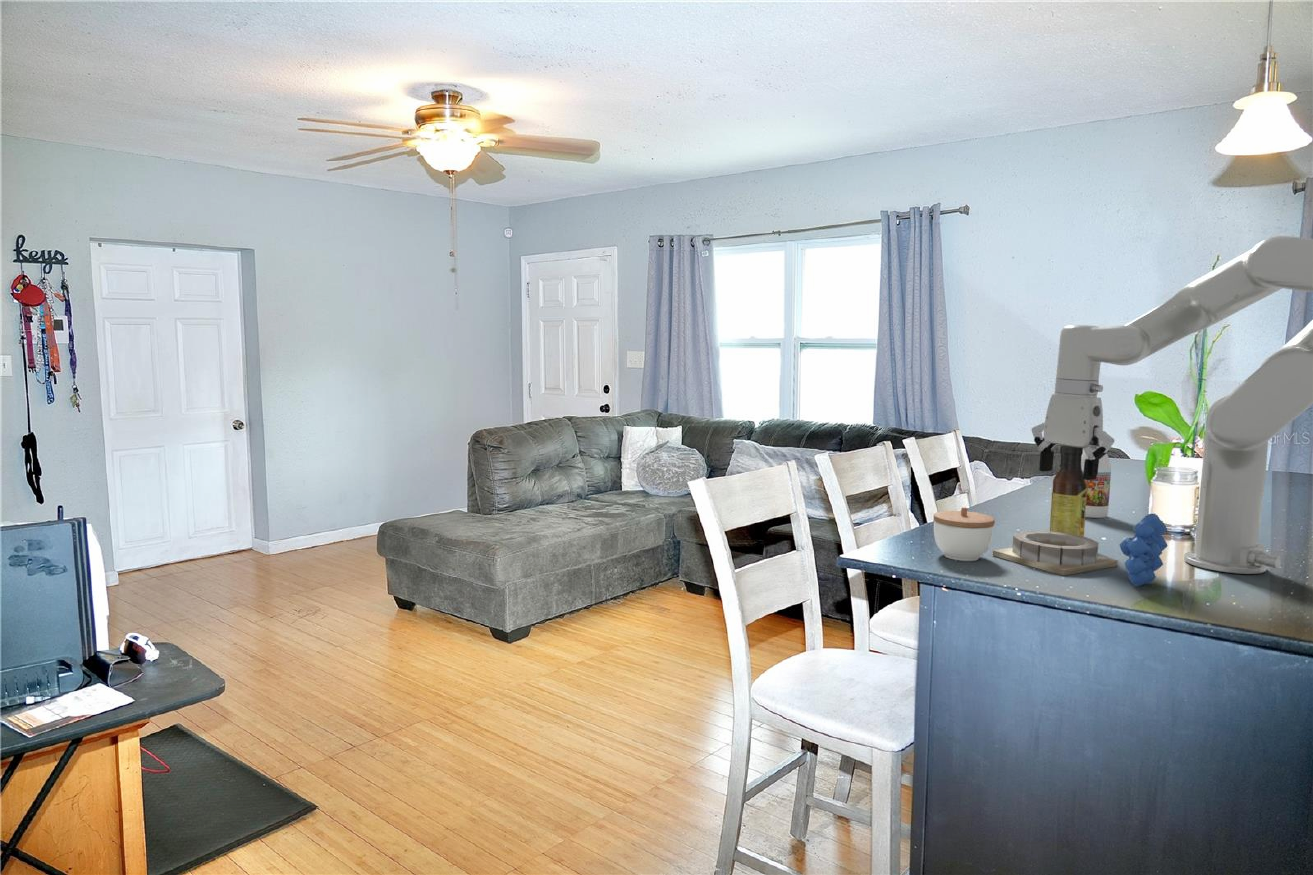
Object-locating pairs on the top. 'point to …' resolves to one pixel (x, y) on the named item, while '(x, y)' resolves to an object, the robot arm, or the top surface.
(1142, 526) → the grapes
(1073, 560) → the collar board
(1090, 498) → the milk bottle
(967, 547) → the lidded jar
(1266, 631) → the top surface
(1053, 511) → the sauce bottle
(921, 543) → the top surface
